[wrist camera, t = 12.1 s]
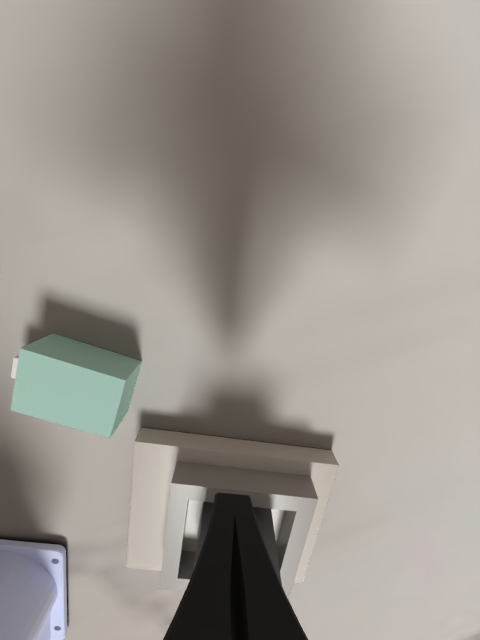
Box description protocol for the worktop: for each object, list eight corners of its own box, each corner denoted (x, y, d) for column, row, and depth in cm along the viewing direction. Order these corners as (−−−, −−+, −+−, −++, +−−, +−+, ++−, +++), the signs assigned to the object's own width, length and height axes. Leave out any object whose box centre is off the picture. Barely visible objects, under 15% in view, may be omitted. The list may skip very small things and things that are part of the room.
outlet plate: (298, 563, 19) (308, 612, 17) (133, 547, 19) (116, 596, 16) (331, 450, 17) (349, 487, 14) (141, 427, 16) (123, 462, 13)
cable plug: (128, 409, 16) (109, 438, 14) (31, 381, 15) (-7, 405, 13) (143, 359, 15) (125, 380, 13) (40, 327, 15) (2, 342, 12)
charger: (258, 546, 17) (270, 701, 11) (197, 540, 17) (177, 695, 11) (269, 498, 16) (290, 642, 10) (204, 491, 16) (187, 634, 10)
